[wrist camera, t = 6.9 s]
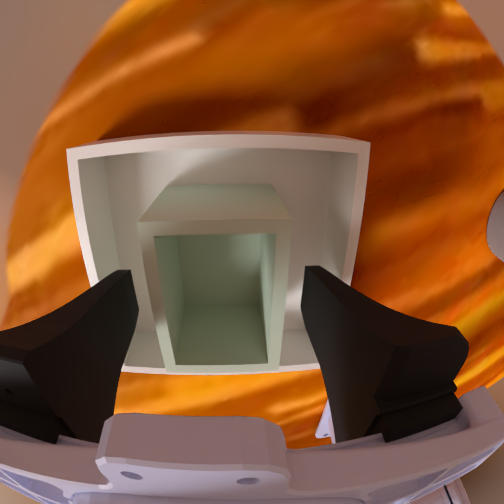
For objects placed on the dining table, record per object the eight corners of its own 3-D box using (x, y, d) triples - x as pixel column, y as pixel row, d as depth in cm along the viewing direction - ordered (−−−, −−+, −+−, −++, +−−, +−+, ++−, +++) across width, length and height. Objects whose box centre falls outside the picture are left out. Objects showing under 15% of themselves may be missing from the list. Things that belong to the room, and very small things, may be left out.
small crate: (166, 185, 14) (137, 222, 9) (270, 183, 14) (292, 218, 10) (178, 307, 17) (166, 372, 12) (265, 305, 17) (278, 370, 13)
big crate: (339, 135, 14) (370, 142, 10) (315, 328, 19) (330, 367, 16) (99, 140, 13) (66, 149, 10) (132, 332, 18) (119, 371, 15)
